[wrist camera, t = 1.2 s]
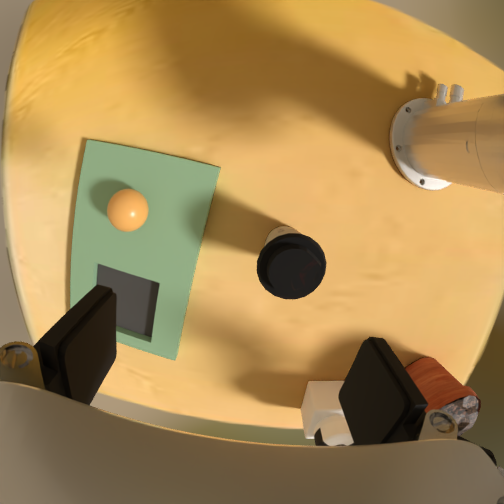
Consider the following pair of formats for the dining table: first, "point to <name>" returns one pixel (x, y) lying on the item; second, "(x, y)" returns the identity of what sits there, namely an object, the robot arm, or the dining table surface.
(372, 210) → the dining table surface
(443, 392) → the potted plant
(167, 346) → the mat
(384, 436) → the robot arm
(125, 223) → the orange ball
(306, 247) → the coffee cup
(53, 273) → the dining table surface
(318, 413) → the medicine bottle
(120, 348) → the dining table surface
